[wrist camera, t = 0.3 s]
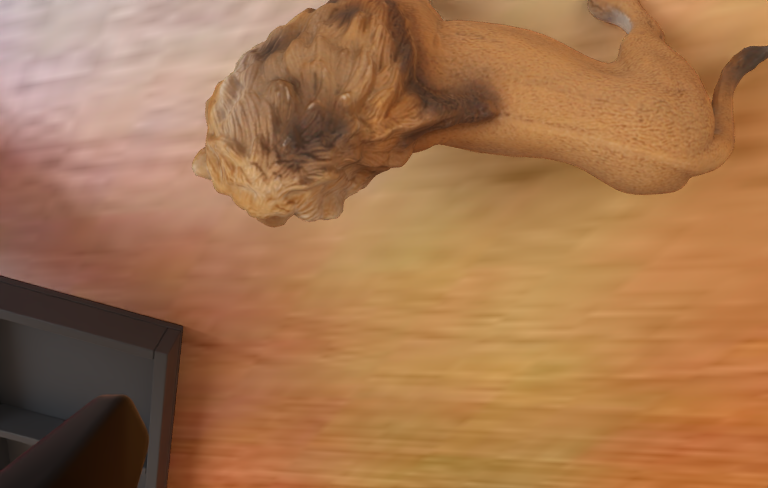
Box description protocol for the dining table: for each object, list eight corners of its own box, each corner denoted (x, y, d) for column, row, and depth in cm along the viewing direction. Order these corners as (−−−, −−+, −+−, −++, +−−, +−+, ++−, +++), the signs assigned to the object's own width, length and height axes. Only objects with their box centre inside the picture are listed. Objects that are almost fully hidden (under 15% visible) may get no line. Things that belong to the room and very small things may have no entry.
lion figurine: (289, 119, 22) (197, 283, 15) (265, -47, 19) (134, 57, 12) (740, 122, 20) (887, 310, 13) (795, -61, 17) (1028, 52, 10)
